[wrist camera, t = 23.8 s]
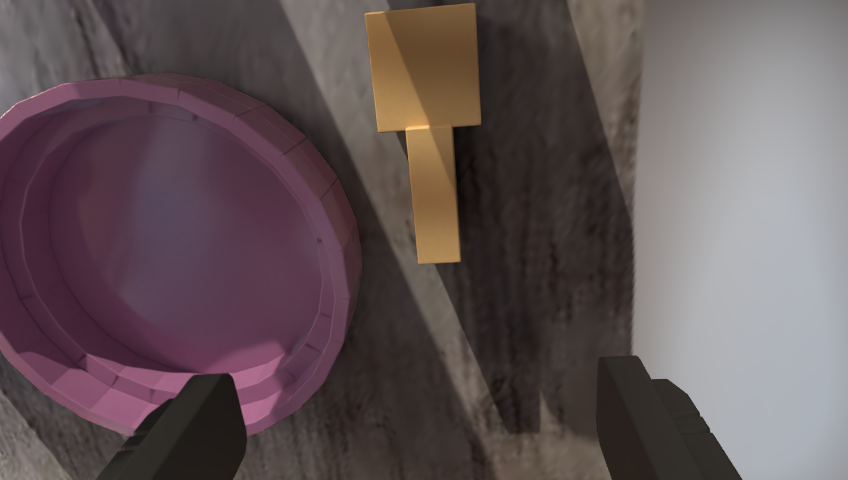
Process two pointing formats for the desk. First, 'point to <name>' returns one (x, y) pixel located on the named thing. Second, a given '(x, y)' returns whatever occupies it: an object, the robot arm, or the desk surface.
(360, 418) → the desk surface
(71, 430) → the desk surface
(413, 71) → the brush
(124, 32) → the desk surface
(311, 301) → the bowl
